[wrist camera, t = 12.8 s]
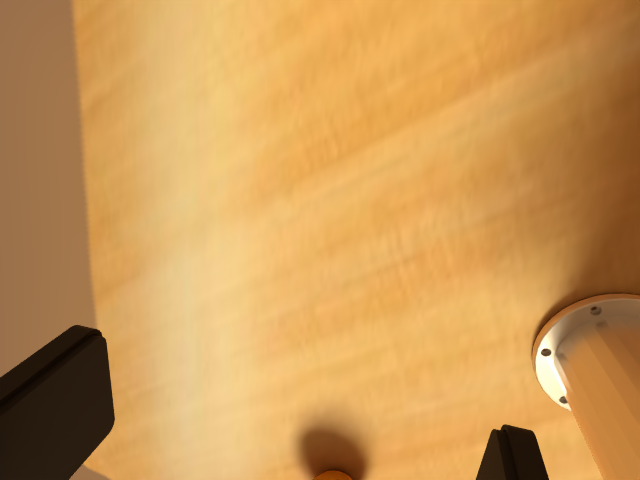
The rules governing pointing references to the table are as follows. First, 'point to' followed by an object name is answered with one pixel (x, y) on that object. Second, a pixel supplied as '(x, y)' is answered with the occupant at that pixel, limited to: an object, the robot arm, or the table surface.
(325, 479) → the apple
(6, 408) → the robot arm
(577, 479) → the table surface
